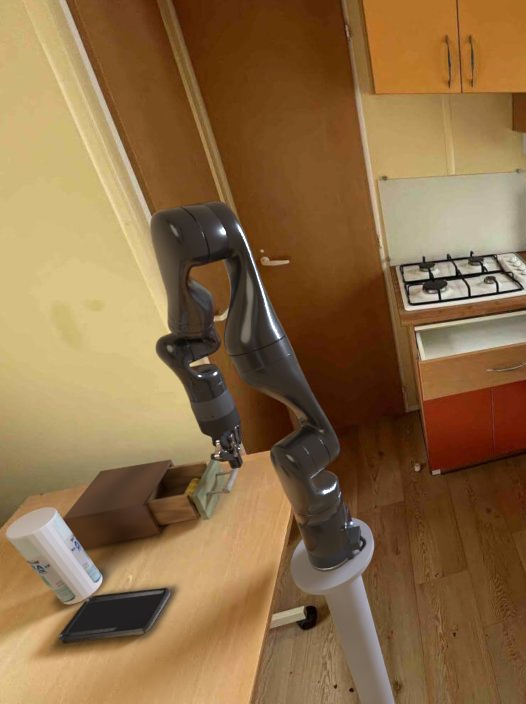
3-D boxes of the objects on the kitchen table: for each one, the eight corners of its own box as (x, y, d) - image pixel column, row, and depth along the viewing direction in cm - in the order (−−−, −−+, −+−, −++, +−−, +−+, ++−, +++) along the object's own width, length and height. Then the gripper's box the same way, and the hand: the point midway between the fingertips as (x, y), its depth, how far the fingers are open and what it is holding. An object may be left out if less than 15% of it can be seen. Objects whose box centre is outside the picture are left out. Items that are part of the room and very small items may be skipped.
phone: (88, 596, 82) (171, 587, 84) (91, 599, 83) (173, 590, 84) (54, 641, 75) (144, 630, 77) (57, 644, 76) (147, 634, 77)
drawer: (247, 474, 110) (238, 452, 106) (232, 514, 99) (221, 491, 96) (166, 489, 106) (154, 466, 102) (141, 532, 95) (127, 508, 91)
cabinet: (184, 487, 107) (171, 459, 103) (159, 533, 96) (143, 504, 91) (117, 499, 104) (100, 470, 100) (83, 548, 92) (61, 519, 88)
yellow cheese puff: (194, 511, 98) (186, 504, 96) (181, 517, 98) (172, 510, 96) (208, 479, 106) (201, 472, 104) (195, 484, 105) (188, 477, 104)
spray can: (53, 595, 83) (-2, 529, 74) (94, 567, 89) (47, 501, 80) (69, 611, 81) (13, 544, 72) (110, 581, 86) (63, 515, 77)
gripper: (223, 425, 88) (246, 484, 96) (242, 388, 99) (261, 444, 107) (182, 431, 86) (209, 491, 94) (206, 393, 98) (229, 449, 106)
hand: (237, 465), depth 101 cm, fingers closed
